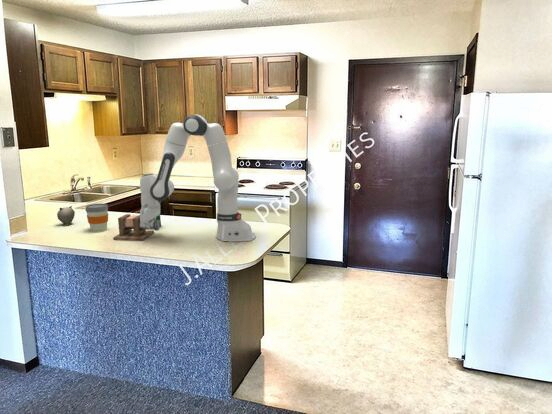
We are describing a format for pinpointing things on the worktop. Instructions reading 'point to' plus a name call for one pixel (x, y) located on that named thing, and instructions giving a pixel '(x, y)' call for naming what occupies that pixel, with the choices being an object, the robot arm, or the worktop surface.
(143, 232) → the bearing block
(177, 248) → the worktop surface
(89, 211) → the reusable coffee cup
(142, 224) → the shaft
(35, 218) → the worktop surface
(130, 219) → the spacer
